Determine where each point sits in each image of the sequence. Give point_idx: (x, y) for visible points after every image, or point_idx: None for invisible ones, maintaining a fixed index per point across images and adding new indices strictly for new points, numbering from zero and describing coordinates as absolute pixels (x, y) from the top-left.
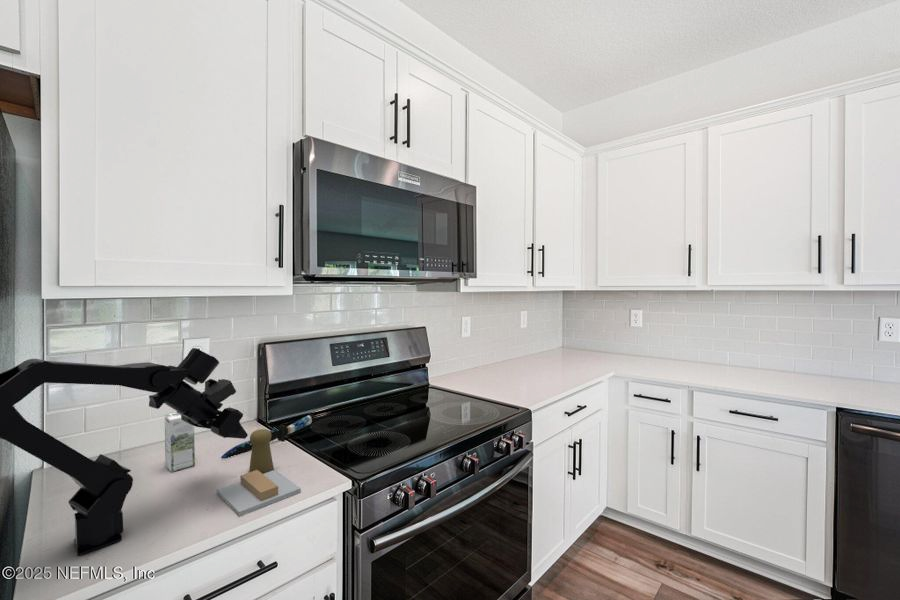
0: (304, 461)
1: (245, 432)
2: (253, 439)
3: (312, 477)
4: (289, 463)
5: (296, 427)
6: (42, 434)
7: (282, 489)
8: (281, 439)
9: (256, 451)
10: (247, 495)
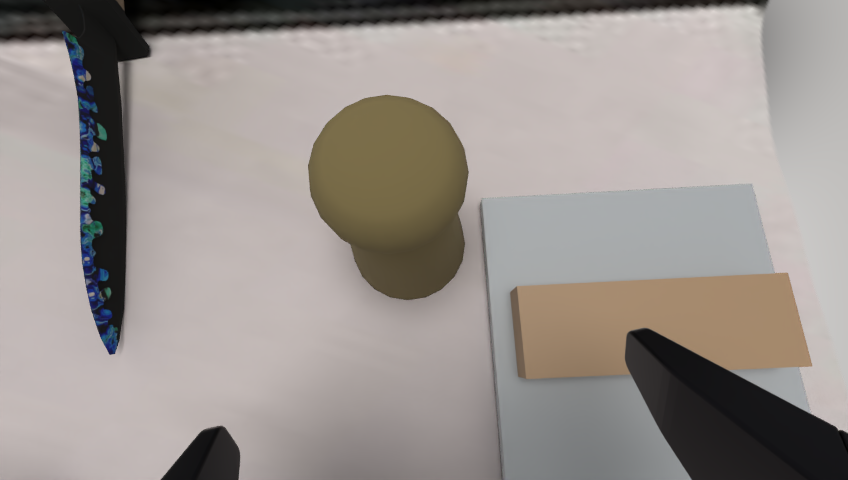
0: (447, 68)
1: (706, 363)
2: (424, 238)
3: (629, 103)
4: None
5: None
6: None
7: (715, 247)
8: (134, 52)
9: (433, 244)
10: None
